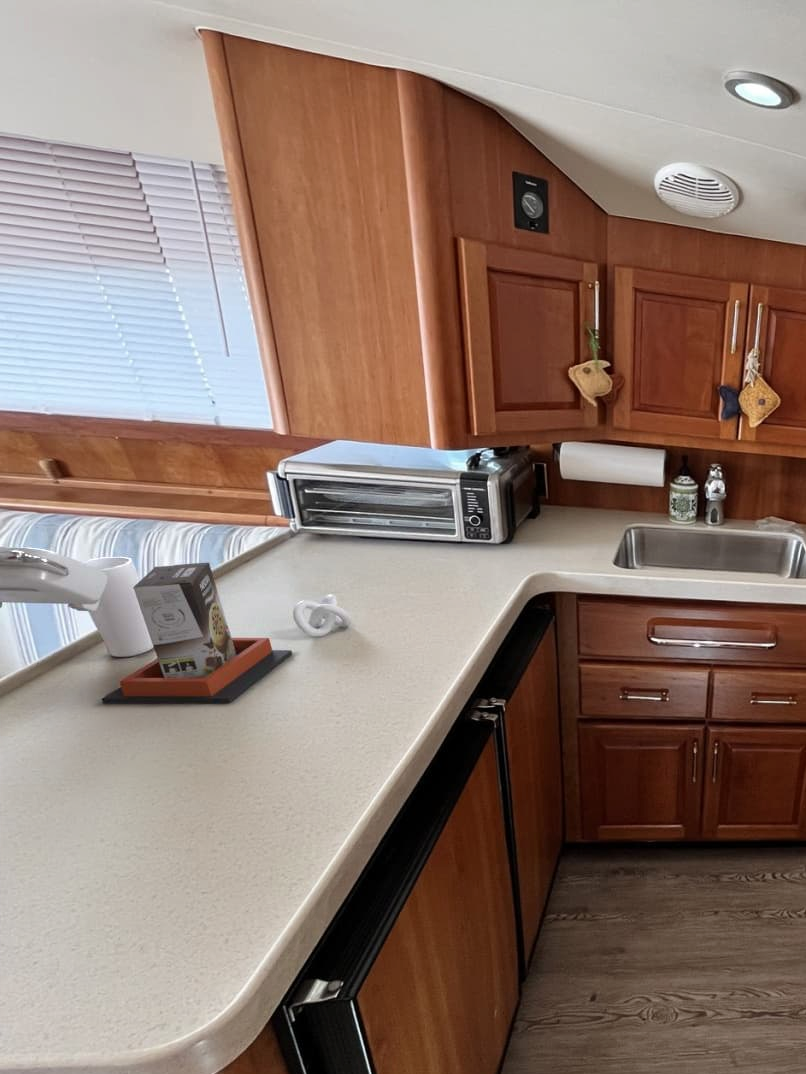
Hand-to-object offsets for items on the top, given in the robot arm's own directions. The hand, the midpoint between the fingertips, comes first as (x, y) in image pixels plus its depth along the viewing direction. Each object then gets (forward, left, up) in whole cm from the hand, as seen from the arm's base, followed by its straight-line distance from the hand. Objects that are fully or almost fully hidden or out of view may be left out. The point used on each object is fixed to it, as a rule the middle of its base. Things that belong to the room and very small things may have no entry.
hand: (44, 604), depth 73 cm
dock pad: (+5, +17, -20) cm, 27 cm away
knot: (+18, +31, -20) cm, 41 cm away
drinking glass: (-8, +29, -20) cm, 37 cm away
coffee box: (+4, +18, -19) cm, 27 cm away
